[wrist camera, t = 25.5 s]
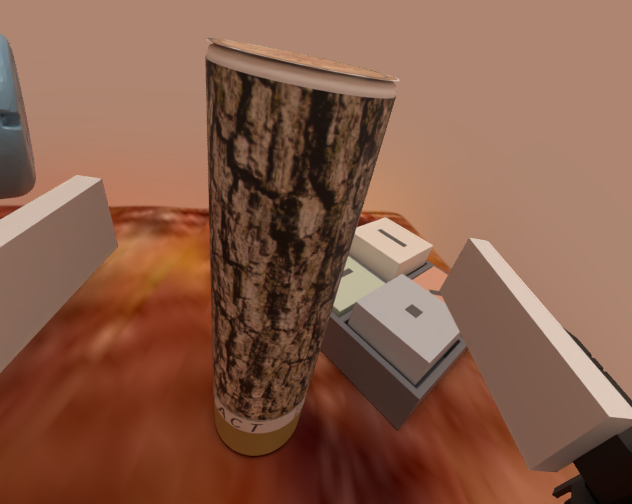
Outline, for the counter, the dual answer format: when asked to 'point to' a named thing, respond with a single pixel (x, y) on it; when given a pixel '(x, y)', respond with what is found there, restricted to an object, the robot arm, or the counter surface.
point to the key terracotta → (432, 281)
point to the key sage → (354, 287)
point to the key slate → (405, 326)
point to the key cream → (389, 249)
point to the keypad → (383, 365)
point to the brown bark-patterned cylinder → (281, 222)
